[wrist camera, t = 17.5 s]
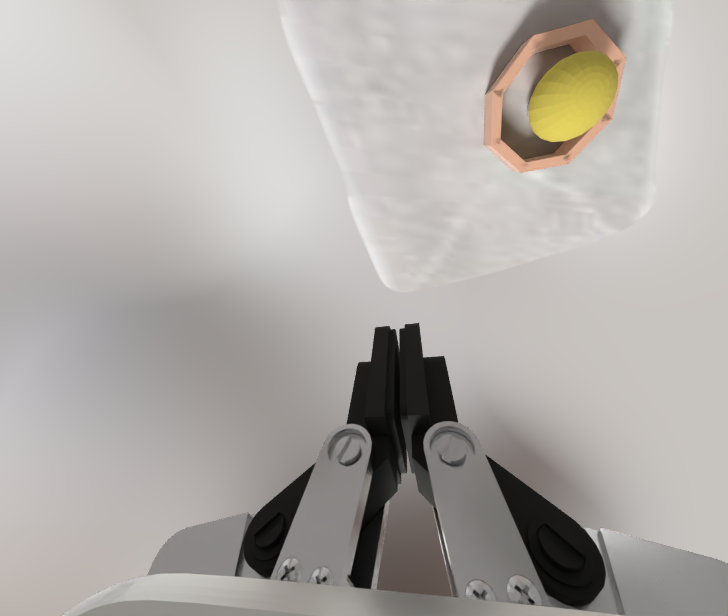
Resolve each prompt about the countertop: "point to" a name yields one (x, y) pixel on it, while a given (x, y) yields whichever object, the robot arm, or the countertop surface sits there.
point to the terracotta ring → (575, 35)
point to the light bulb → (573, 96)
